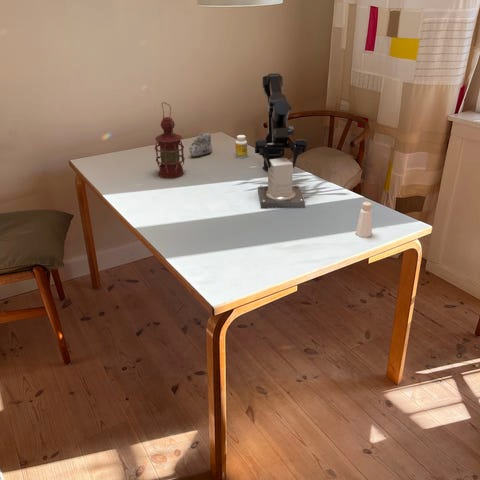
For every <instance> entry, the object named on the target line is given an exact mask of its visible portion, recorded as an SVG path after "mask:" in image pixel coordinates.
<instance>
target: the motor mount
mask: <svg viewBox="0 0 480 480" xmlns="http://www.w3.org/2000/svg"><path fill="white" fill-rule="evenodd" d="M257 193H258V199H259V200H258V201H259V206H260V209H289V208H290V209H293V208H294V209H297V208H300V209H301V208H303V209H304V208H305V207H306V200H305V198H304V196H303V193H302V190H301V188H300V185H298V184H295V185H292V196H284V197H275V198H274V197H273V196H272V195H271V194H270V192H269V191H268V186H263V185H260V186H258V187H257Z"/></svg>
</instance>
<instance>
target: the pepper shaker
mask: <svg viewBox="0 0 480 480" xmlns="http://www.w3.org/2000/svg"><path fill="white" fill-rule="evenodd" d="M372 228H373V210H372V202H369V201H364V202H362V208H361V209H360V212H359V216H358V221H357V226H356V229H355V230H356V231H355V236H358V237H359V238H369V237H372V234H373V232H372V231H373V229H372Z"/></svg>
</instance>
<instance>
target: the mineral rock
mask: <svg viewBox="0 0 480 480" xmlns="http://www.w3.org/2000/svg"><path fill="white" fill-rule="evenodd" d="M188 150H189V154H190V156H192V157H198V156H204V155H206V154H210V153H213V145H212V139H211V134H210V133H209V132H205V133H204V132H201V133H199V134H198V137H197V138H196V139H195V140H194V141H193V142H192V143H191V145H190V146H189V147H188Z"/></svg>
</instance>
